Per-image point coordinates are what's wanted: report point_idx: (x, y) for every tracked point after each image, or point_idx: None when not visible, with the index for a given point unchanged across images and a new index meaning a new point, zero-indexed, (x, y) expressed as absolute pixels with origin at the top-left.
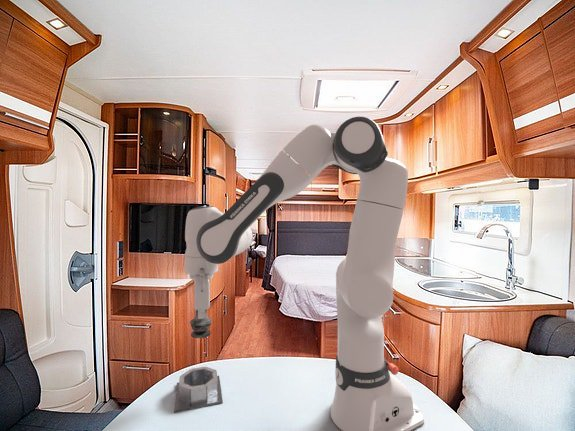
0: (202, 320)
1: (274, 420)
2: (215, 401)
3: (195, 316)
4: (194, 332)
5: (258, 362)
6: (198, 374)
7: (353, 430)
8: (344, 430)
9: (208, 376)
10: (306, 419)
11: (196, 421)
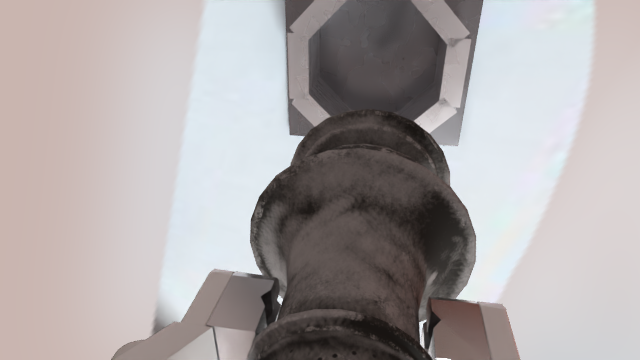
0: (286, 276)
1: (187, 242)
2: (293, 111)
3: (336, 244)
4: (377, 144)
5: (490, 289)
6: (441, 67)
7: (116, 357)
8: (130, 344)
9: (415, 109)
10: (179, 301)
11: (222, 38)
